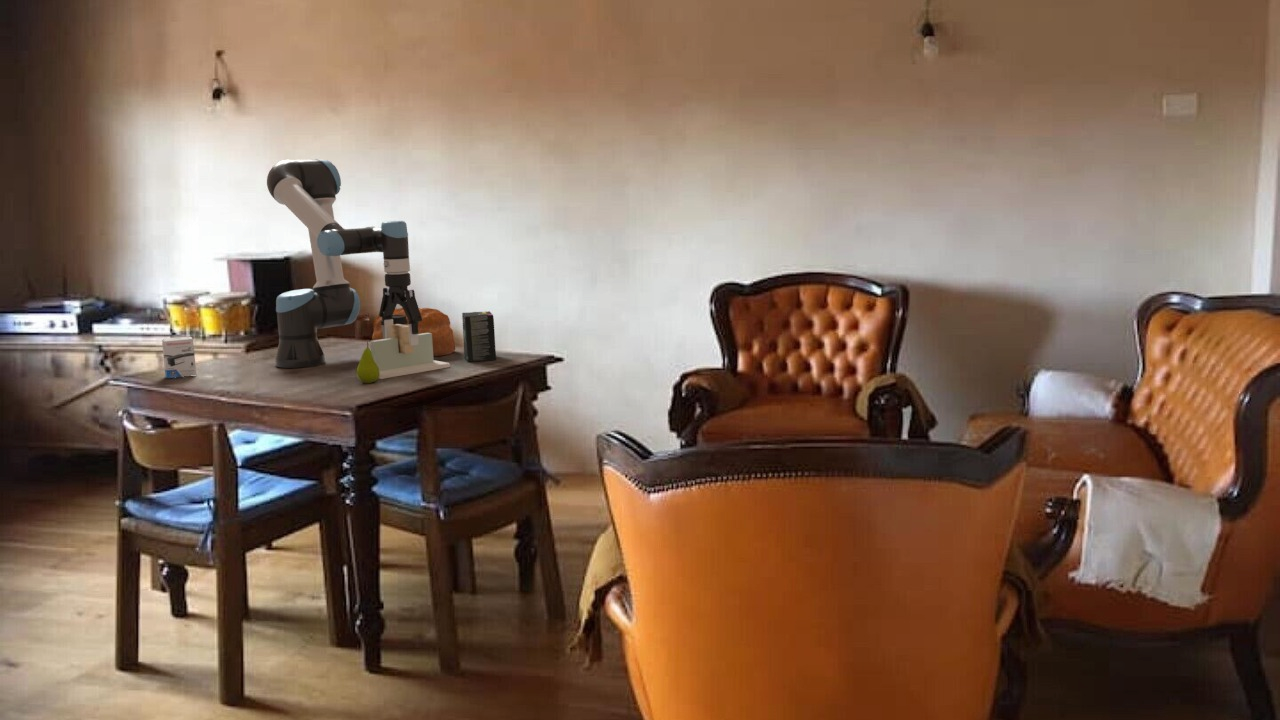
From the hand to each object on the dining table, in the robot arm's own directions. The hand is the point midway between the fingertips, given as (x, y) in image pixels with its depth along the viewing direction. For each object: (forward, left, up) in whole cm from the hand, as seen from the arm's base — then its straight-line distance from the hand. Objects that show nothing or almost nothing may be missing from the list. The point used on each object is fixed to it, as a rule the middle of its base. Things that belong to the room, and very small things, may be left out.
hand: (401, 342), depth 333 cm
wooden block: (0, 0, -3) cm, 3 cm away
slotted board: (0, 0, -8) cm, 8 cm away
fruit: (+9, -17, -9) cm, 21 cm away
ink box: (-47, -49, -9) cm, 68 cm away
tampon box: (+2, +27, -9) cm, 28 cm away
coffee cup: (-12, +5, -9) cm, 16 cm away
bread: (-25, +20, -9) cm, 33 cm away
